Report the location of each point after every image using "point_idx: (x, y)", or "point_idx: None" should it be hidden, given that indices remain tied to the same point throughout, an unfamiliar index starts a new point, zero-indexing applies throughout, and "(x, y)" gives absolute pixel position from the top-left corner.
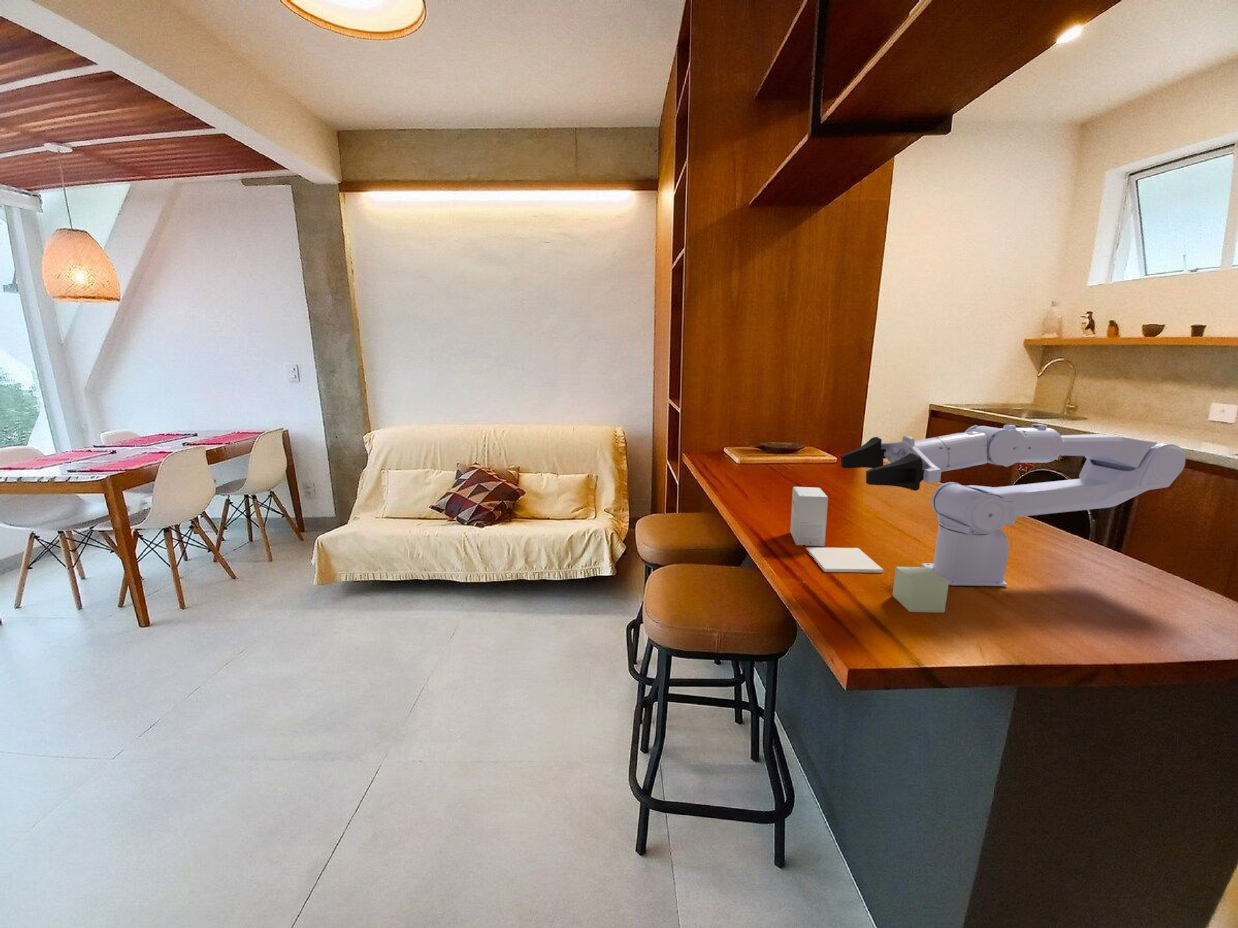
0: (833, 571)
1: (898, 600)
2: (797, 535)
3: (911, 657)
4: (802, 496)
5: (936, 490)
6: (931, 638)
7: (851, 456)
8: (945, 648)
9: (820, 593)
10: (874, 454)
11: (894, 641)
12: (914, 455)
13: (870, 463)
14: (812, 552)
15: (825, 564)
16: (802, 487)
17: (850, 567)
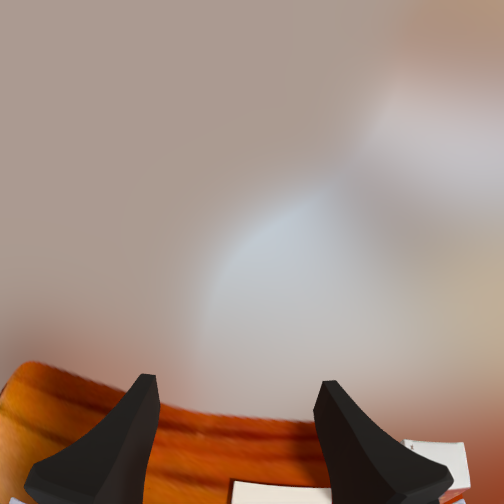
0: (232, 495)
1: None
2: None
3: (7, 412)
4: (404, 445)
5: None
6: (20, 465)
7: (330, 408)
8: (2, 457)
9: (159, 435)
10: (356, 497)
11: (32, 424)
12: (57, 484)
13: (339, 498)
14: (307, 490)
15: (252, 490)
16: (462, 456)
17: None
